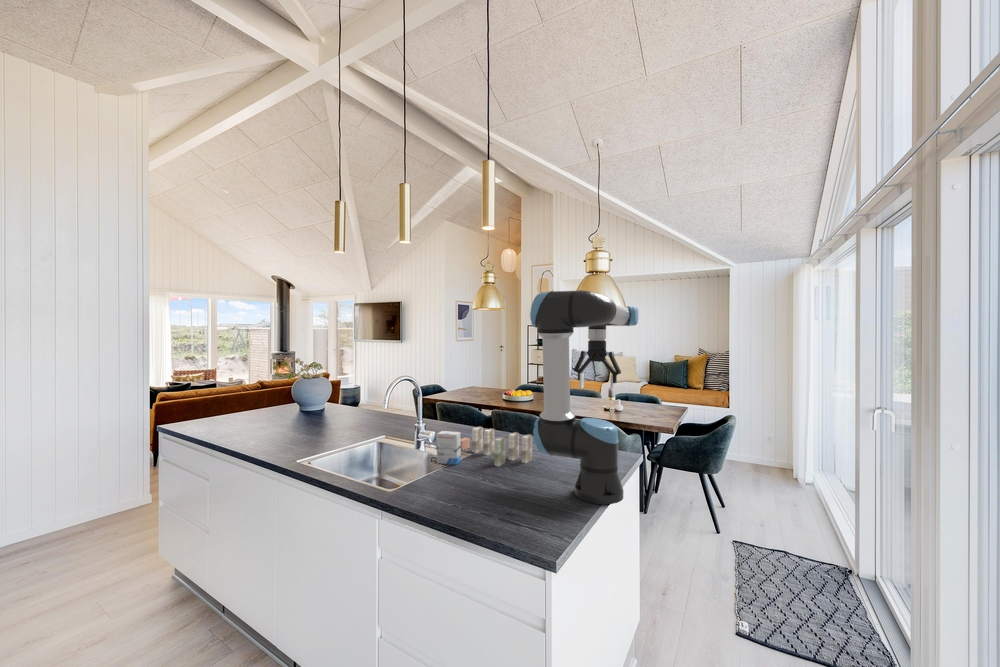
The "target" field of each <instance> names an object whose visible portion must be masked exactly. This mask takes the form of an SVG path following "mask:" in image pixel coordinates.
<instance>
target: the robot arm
mask: <svg viewBox="0 0 1000 667" xmlns="http://www.w3.org/2000/svg"><path fill="white" fill-rule="evenodd" d="M529 312H530V314H529V315H530V316H529V318H530V321H531V325H532V326H533V328H537V335H539V336H540V337H541V339H542V372H543V373H542V376H543V410H542V411H541V413H540V414H539V417H538V418H537V419H535V421H534V425H533V427H534V428H533V430H532V431H533V433H532V437H533V440H534V444H535V446H536V447H535V448H536V449H537V450H538V451H539V452H540V453H542V454H545V455H549V456H553V457H554V456H556V457H562V458H569V459H575V460H580V461H579V471H578V473H577V474H578V475H577V477H576V479H575V483H574V491H573V492H574V496H575V497H577V498H578V499H580V500H582V501H584V502H587V503H591V504H595V505H596V504H597V505H613V504H618V503H620V502H621V501H623V500H624V487H623V485H622V481H621V478H620V475H619V434H618V433H619V432H618V431H619V430H618V427H617V426H616V425H615V424H614V423H612V422H610V421H608V420H606V419H602V418H601V419H600V418H595V417H583V418H581V419H580V421H576V414H575V413H574V412H573V411H572V409H571V384H570V383H571V382H570V381H571V380H570V379H571V377H570V376H571V375H570V372H571V371H570V369H571V368H570V337H571V336H572V335H573V334H574V328H587V331H588V332H587V333H588V335H587V336H588V338H587V339H588V341H587V342H588V343H587V350H581V351H580V356H579V358H578V360H577V362H576V364H575V366H574V368H573V371H574V372H576V373H577V380H578V381H579V389H584V387H585V386H584V385H585V384H584V383H585V378H584V377H585V376H584V374H585V373H584V370H585V369H586V368H587V367H588V366H589V365H590V363H592V362H593V363H594V362H598V363H600V362H601V363H602V364H603V365H604V366H605V367H606V368H607V369H608V371H609V372H610V374H611V375H610V386H609V388H610V392H614V391H615V384H616V383H617V382H618V381H617V376H618V375H620V374H622V370H621V368H620V367H619V364H618V362H617V360H616V358H615V354H614V351H609V352H608V351H607V340H606V339H607V326H608V327H609V326H610V327H611V326H612V327H613V326H614V327H615V326H618V327H632V326H636V325H637V324H638V323H639V322H638V321H639V309H638V308H637V306H630V305H629V306H623V305H621V304H618V303H616V302H615V301H614V300H613V299H612V298H610V297H609V296H607V295H604V294H601V293H597V292H594V291H590V290H581V289H579V290H558V291H555V290H554V291H553V290H552V291H550V290H549V291H544V292H543V291H542V292H539V293H538V294H536V295H535V297H534V299H533V301H532V303H531V308H530V311H529ZM586 356H588V357H587V359H586V360H585V362H584V363H583V361H584V359H585V357H586ZM607 356H608V358H609V360H610V362H611V364H612V365H611V364H610V362H609V361H608V359H607V358H606V357H607ZM582 363H583V364H582Z"/></svg>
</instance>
